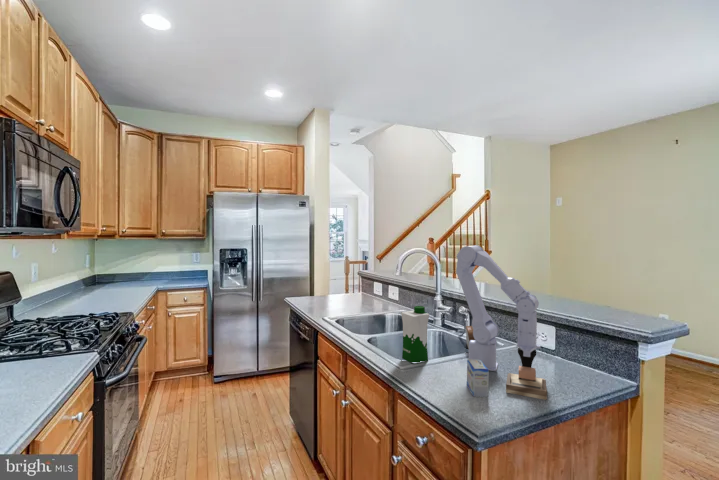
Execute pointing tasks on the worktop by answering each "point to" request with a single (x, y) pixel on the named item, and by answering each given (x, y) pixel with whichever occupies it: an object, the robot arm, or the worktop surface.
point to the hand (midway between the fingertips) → (526, 371)
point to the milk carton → (415, 334)
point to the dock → (526, 386)
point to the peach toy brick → (527, 373)
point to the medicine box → (477, 378)
